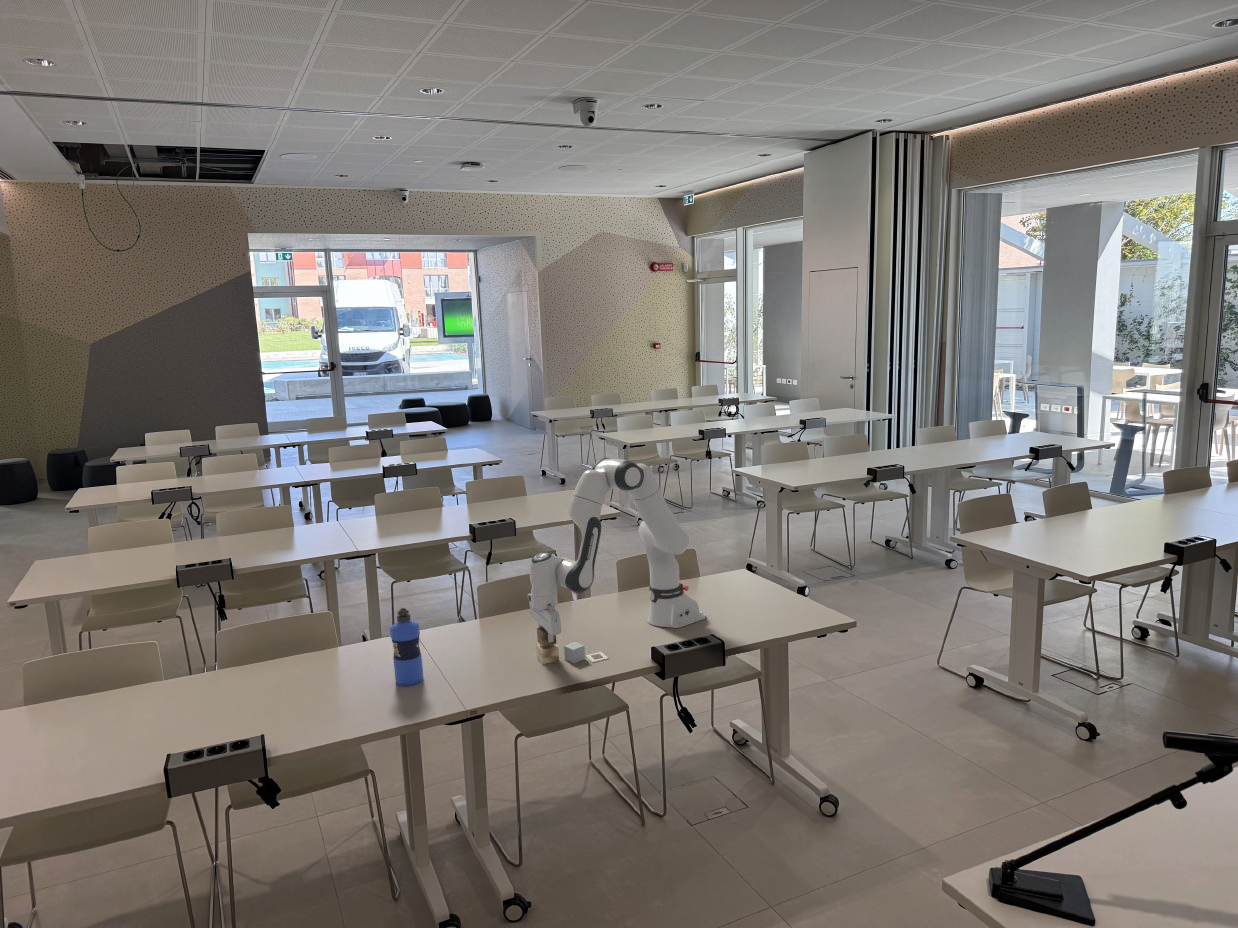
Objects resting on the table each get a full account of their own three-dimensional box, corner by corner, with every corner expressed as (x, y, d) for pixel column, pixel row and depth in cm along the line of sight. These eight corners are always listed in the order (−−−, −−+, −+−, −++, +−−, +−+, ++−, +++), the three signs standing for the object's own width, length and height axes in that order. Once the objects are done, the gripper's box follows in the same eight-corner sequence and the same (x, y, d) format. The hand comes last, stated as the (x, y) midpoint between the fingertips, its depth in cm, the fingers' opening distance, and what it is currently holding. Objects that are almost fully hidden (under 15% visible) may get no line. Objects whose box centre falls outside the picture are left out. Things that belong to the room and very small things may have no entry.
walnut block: (551, 638, 296) (550, 625, 295) (556, 643, 292) (555, 629, 291) (537, 641, 294) (536, 628, 293) (543, 646, 289) (542, 632, 288)
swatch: (601, 652, 297) (600, 651, 297) (608, 658, 292) (608, 657, 292) (585, 656, 295) (585, 654, 295) (592, 662, 289) (592, 661, 289)
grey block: (576, 654, 296) (575, 641, 295) (585, 659, 293) (584, 645, 292) (564, 659, 293) (564, 645, 292) (573, 663, 289) (572, 649, 288)
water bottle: (399, 688, 276) (391, 616, 271) (392, 678, 284) (385, 607, 279) (427, 681, 280) (420, 610, 275) (419, 671, 288) (413, 601, 283)
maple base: (553, 654, 298) (552, 640, 297) (559, 660, 292) (558, 646, 291) (537, 657, 295) (536, 644, 294) (542, 664, 290) (541, 650, 289)
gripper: (564, 607, 282) (567, 646, 285) (542, 589, 300) (544, 626, 303) (547, 611, 279) (549, 650, 282) (525, 593, 297) (528, 630, 300)
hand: (546, 638), depth 292 cm, fingers closed on walnut block, 5 cm apart
